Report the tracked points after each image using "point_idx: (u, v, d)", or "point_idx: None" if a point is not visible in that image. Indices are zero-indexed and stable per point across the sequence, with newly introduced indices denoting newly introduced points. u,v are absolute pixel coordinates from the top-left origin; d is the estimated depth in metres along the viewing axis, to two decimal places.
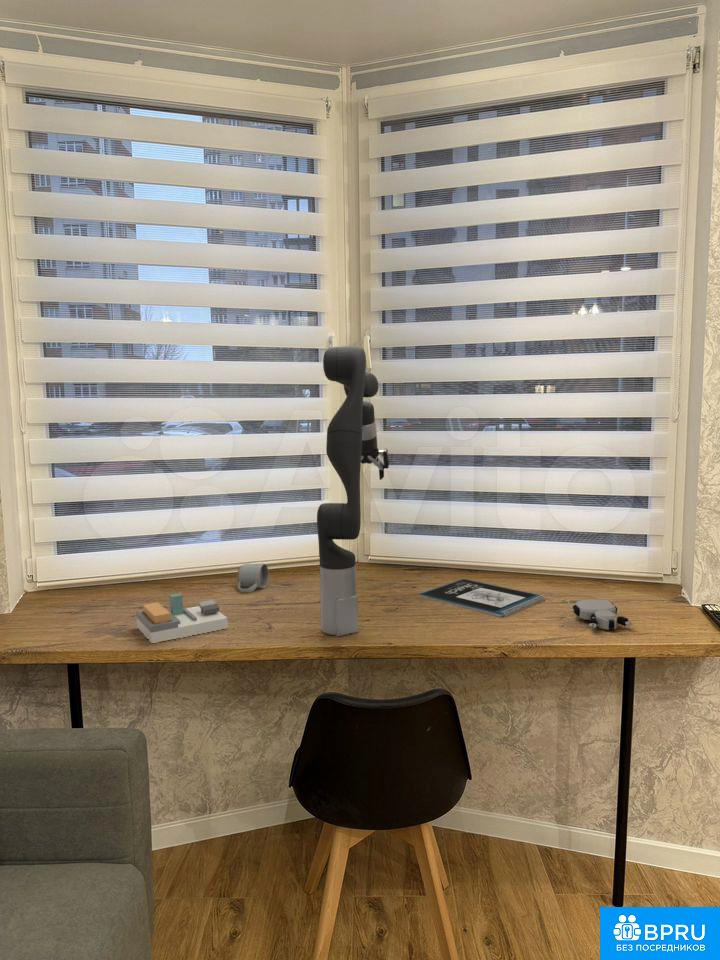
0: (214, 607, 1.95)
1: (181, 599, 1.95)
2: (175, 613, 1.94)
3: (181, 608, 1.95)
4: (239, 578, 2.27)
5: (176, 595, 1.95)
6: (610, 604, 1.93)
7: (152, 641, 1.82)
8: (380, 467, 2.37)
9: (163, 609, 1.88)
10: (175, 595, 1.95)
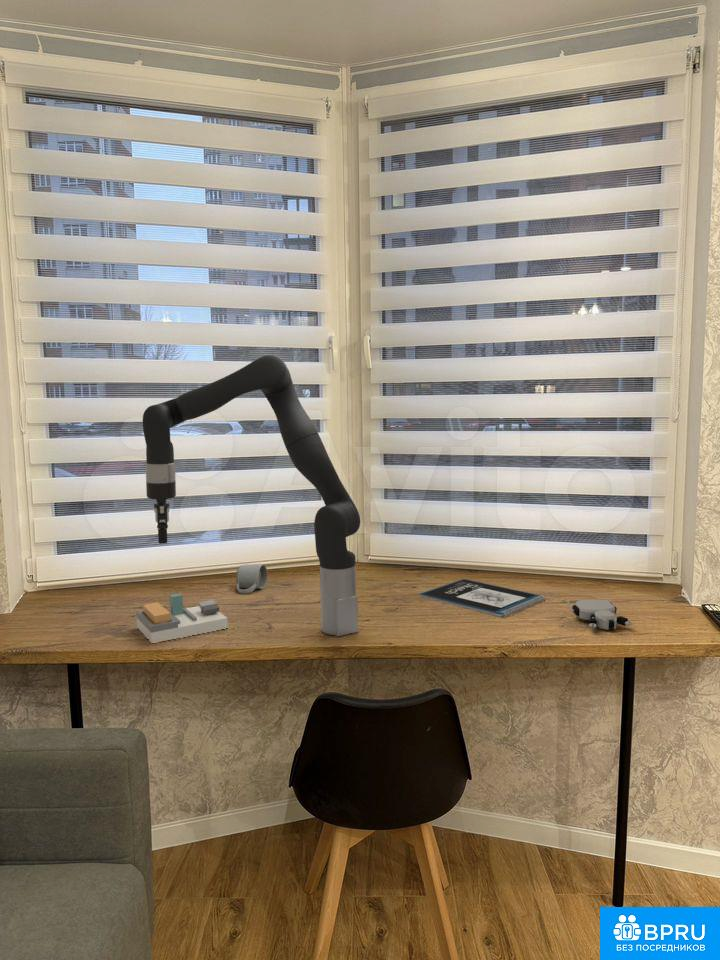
0: (214, 607, 1.95)
1: (181, 599, 1.95)
2: (175, 613, 1.94)
3: (181, 608, 1.95)
4: (238, 579, 2.26)
5: (176, 595, 1.95)
6: (609, 604, 1.93)
7: (152, 641, 1.82)
8: None
9: (163, 609, 1.88)
10: (175, 595, 1.95)
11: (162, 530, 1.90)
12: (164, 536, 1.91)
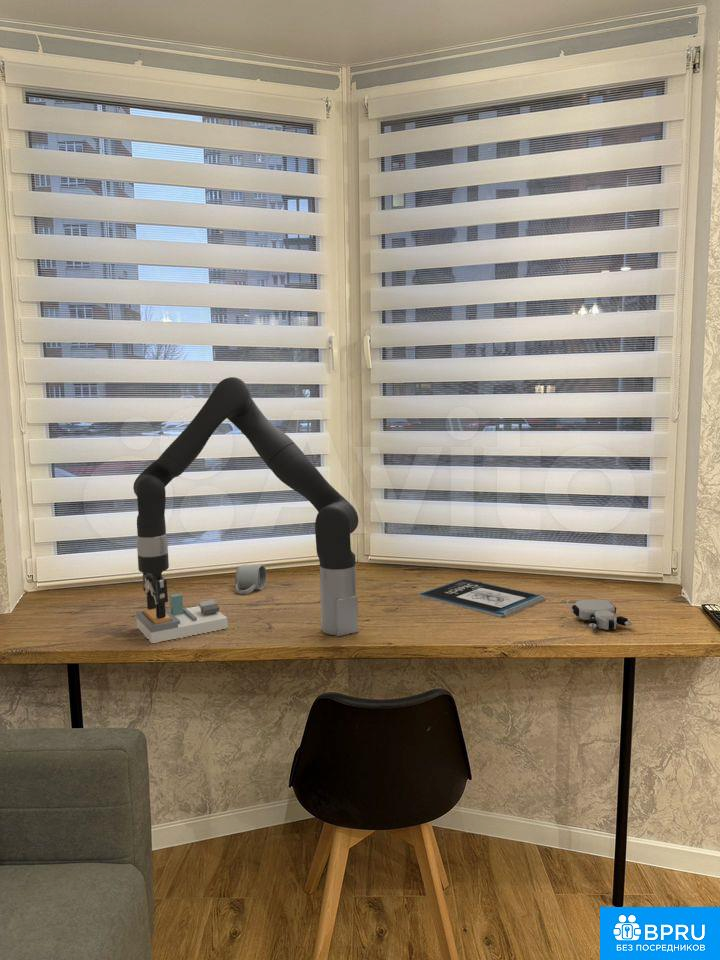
0: (214, 607, 1.95)
1: (181, 599, 1.95)
2: (175, 613, 1.94)
3: (181, 608, 1.95)
4: (237, 579, 2.25)
5: (176, 595, 1.95)
6: (609, 604, 1.93)
7: (152, 641, 1.82)
8: None
9: None
10: (175, 595, 1.95)
11: (161, 604, 1.84)
12: (163, 610, 1.84)
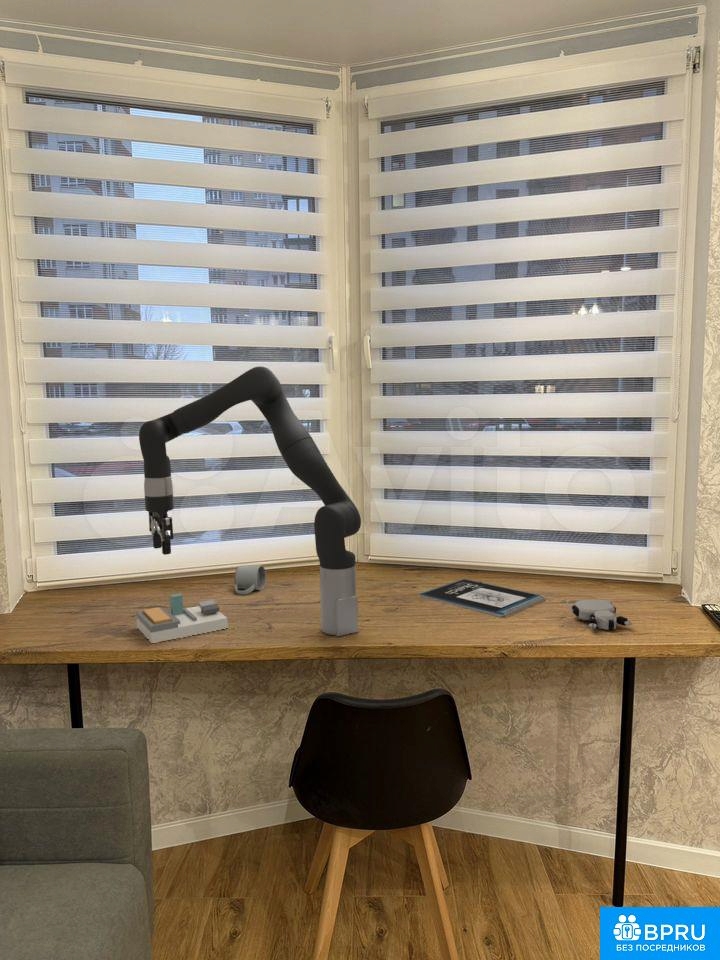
0: (214, 607, 1.95)
1: (181, 599, 1.95)
2: (175, 613, 1.94)
3: (181, 608, 1.95)
4: (236, 580, 2.25)
5: (176, 595, 1.95)
6: (609, 604, 1.93)
7: (152, 641, 1.82)
8: None
9: (163, 614, 1.88)
10: (175, 595, 1.95)
11: (167, 541, 1.96)
12: (169, 547, 1.97)
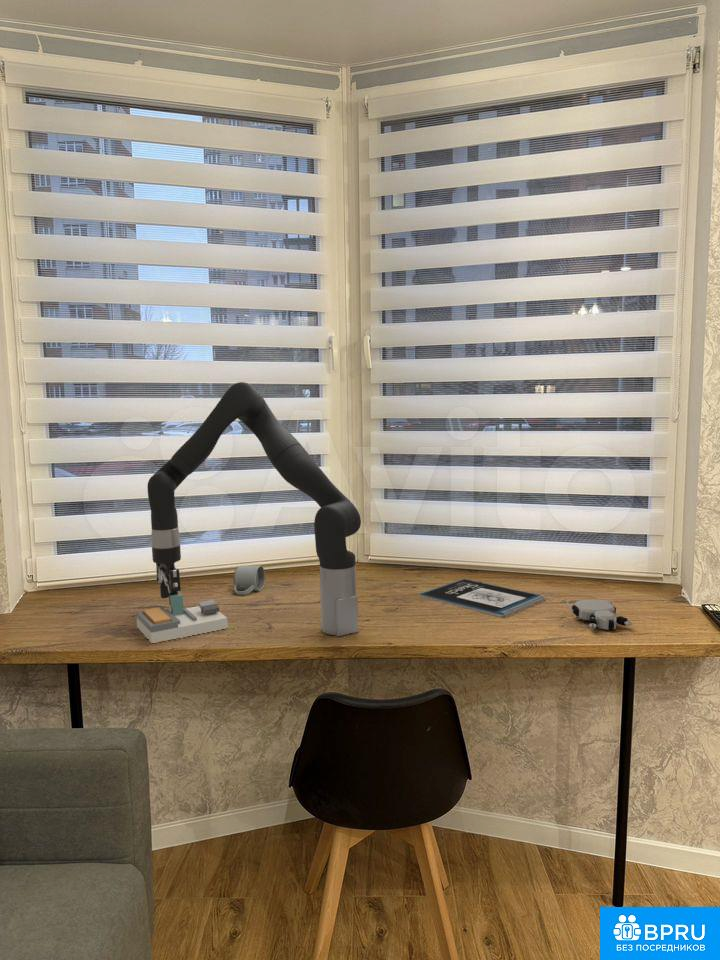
0: (214, 607, 1.95)
1: (181, 599, 1.95)
2: (176, 613, 1.94)
3: (181, 608, 1.95)
4: (235, 580, 2.24)
5: (177, 595, 1.95)
6: (609, 604, 1.93)
7: (152, 641, 1.82)
8: None
9: (163, 614, 1.88)
10: (175, 595, 1.95)
11: (174, 593, 1.97)
12: None
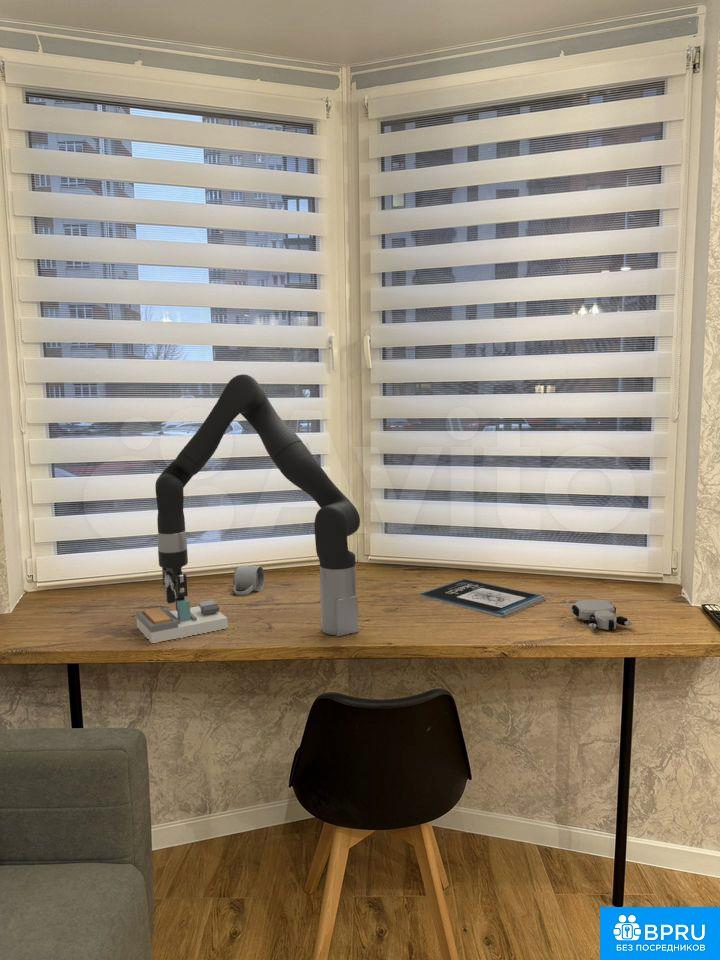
0: (214, 607, 1.95)
1: (188, 605, 1.90)
2: (182, 619, 1.89)
3: (188, 614, 1.90)
4: (235, 581, 2.24)
5: (184, 600, 1.90)
6: (609, 604, 1.93)
7: (152, 641, 1.82)
8: None
9: (163, 614, 1.88)
10: (182, 601, 1.90)
11: (181, 598, 1.92)
12: None
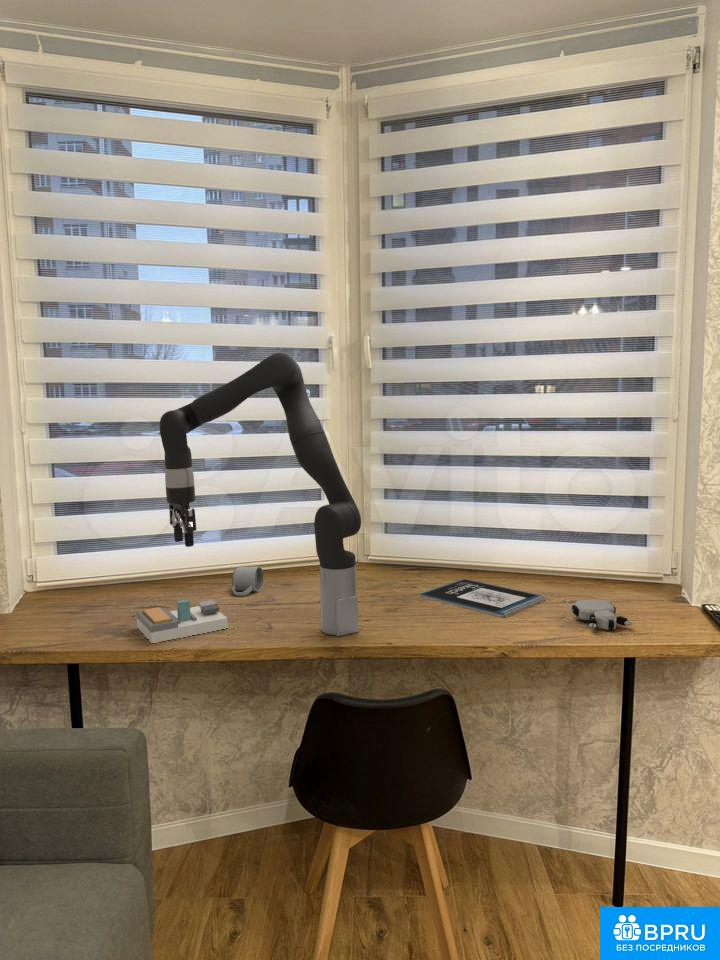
0: (214, 607, 1.95)
1: (188, 605, 1.90)
2: (182, 619, 1.89)
3: (188, 614, 1.90)
4: (234, 581, 2.23)
5: (183, 600, 1.90)
6: (609, 604, 1.93)
7: (152, 641, 1.82)
8: None
9: (163, 614, 1.88)
10: (182, 601, 1.90)
11: (189, 533, 1.93)
12: (191, 539, 1.94)
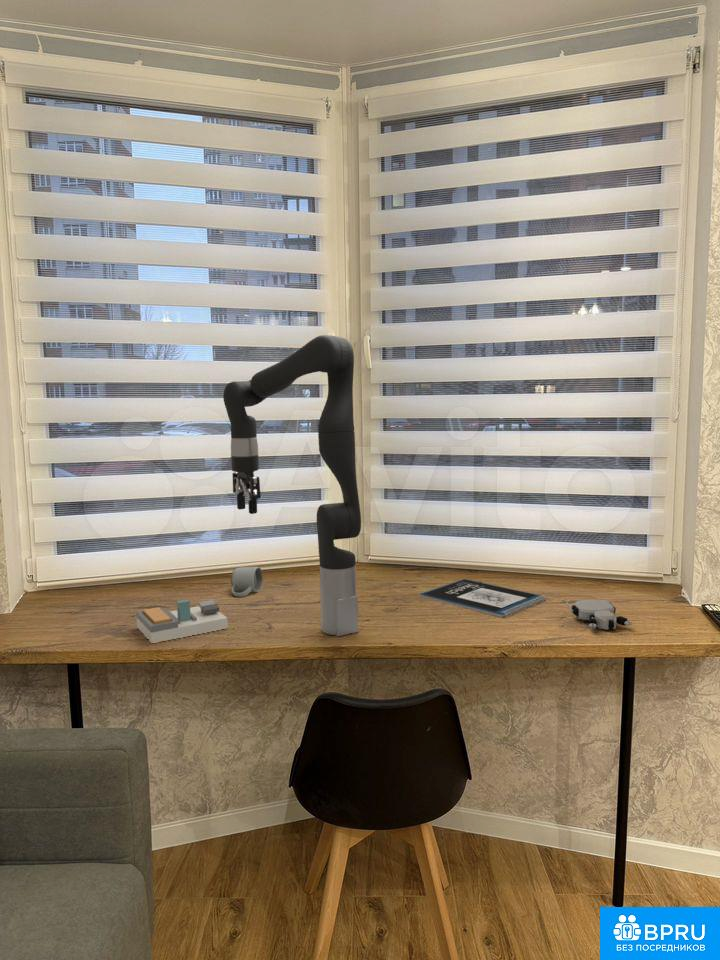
0: (214, 607, 1.95)
1: (188, 605, 1.90)
2: (182, 619, 1.89)
3: (188, 614, 1.90)
4: (233, 582, 2.23)
5: (183, 600, 1.90)
6: (608, 604, 1.93)
7: (152, 641, 1.82)
8: None
9: (163, 614, 1.88)
10: (182, 601, 1.90)
11: (254, 500, 2.00)
12: (255, 506, 2.00)
